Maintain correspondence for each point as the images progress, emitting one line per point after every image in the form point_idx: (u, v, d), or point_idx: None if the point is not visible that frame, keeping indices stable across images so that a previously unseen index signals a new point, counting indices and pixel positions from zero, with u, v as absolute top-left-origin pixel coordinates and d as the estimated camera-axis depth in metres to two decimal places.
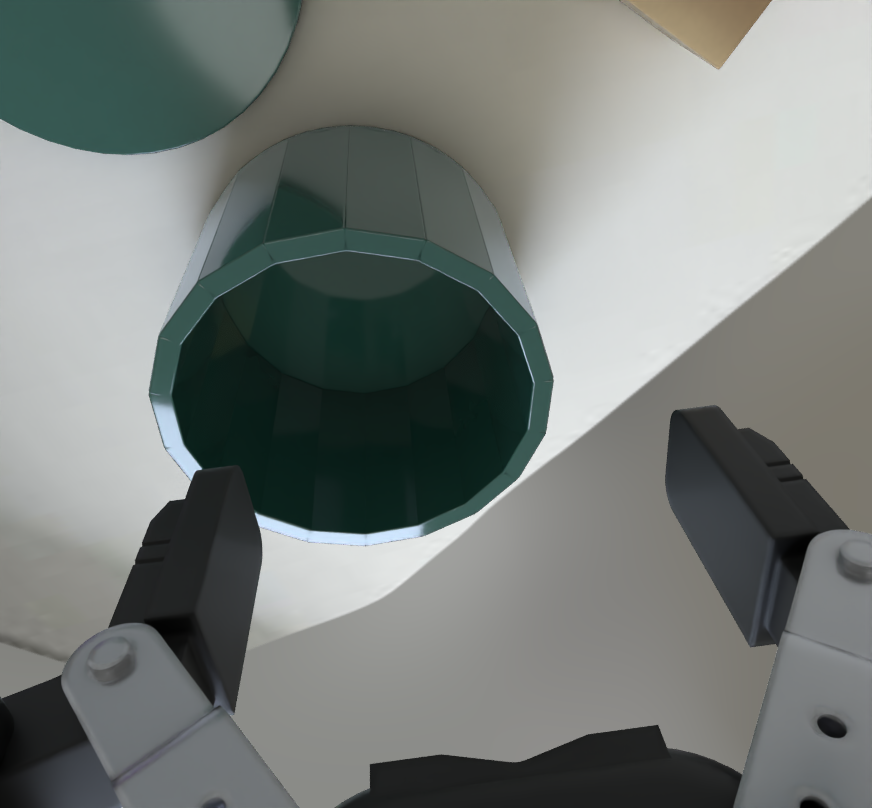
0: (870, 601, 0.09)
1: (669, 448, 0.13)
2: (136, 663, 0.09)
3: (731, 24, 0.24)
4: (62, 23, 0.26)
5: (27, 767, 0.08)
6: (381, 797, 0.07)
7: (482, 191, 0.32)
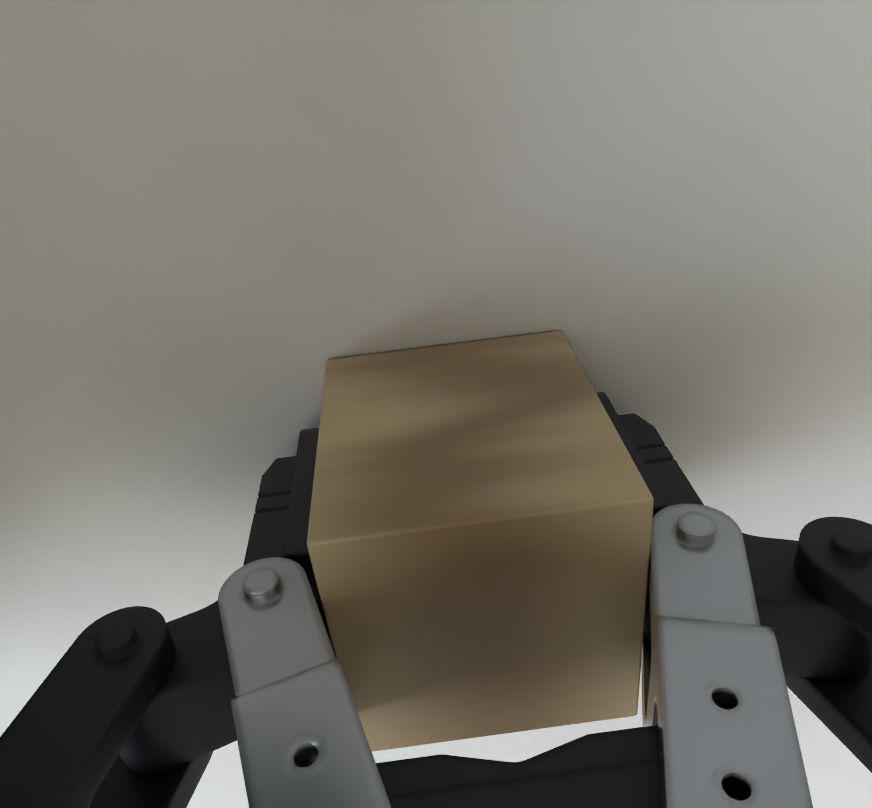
0: (714, 566, 0.09)
1: None
2: (286, 591, 0.10)
3: (437, 716, 0.11)
4: None
5: (195, 683, 0.09)
6: None
7: None
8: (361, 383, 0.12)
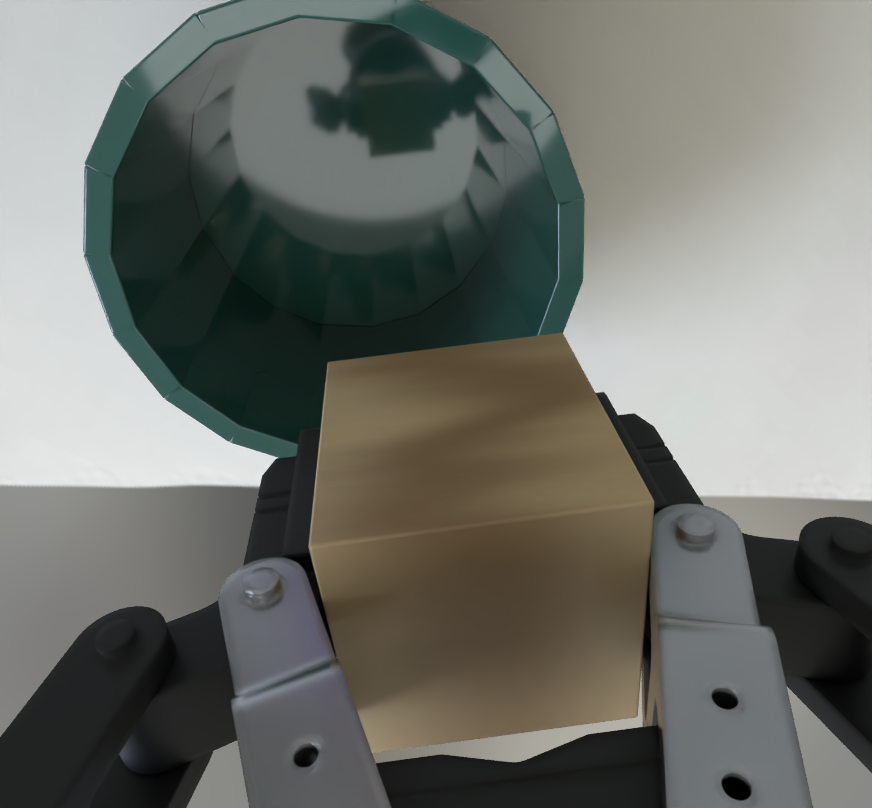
0: (714, 566, 0.09)
1: None
2: (287, 591, 0.10)
3: (437, 717, 0.11)
4: None
5: (195, 683, 0.09)
6: None
7: None
8: (362, 386, 0.12)
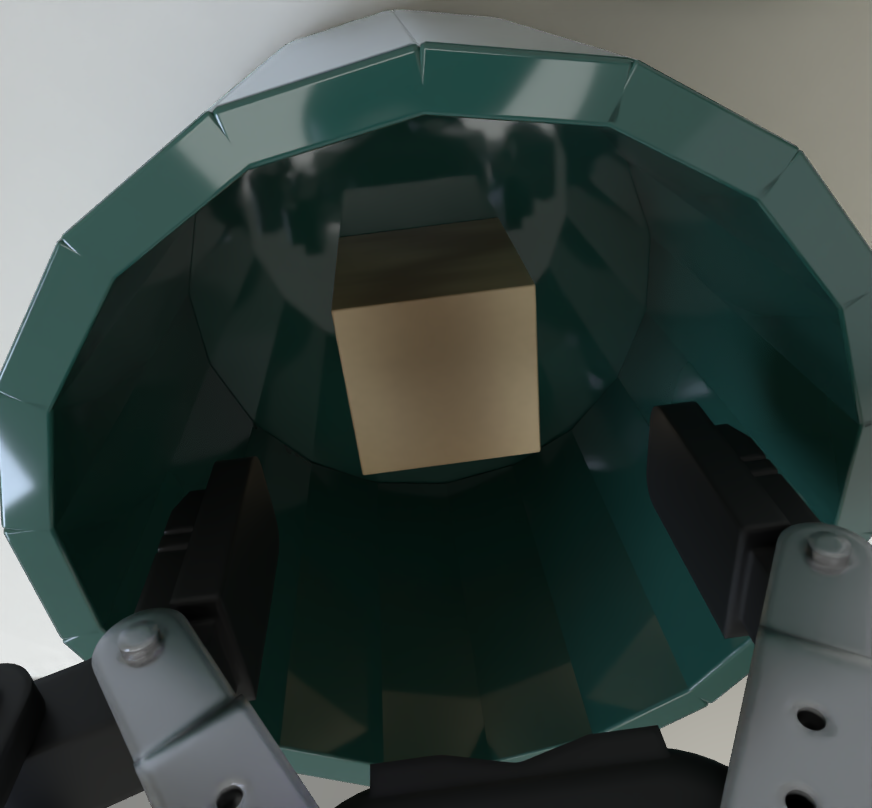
0: (839, 591, 0.09)
1: (649, 444, 0.13)
2: (165, 646, 0.09)
3: (411, 445, 0.17)
4: None
5: (60, 748, 0.08)
6: (381, 797, 0.07)
7: None
8: (362, 247, 0.18)
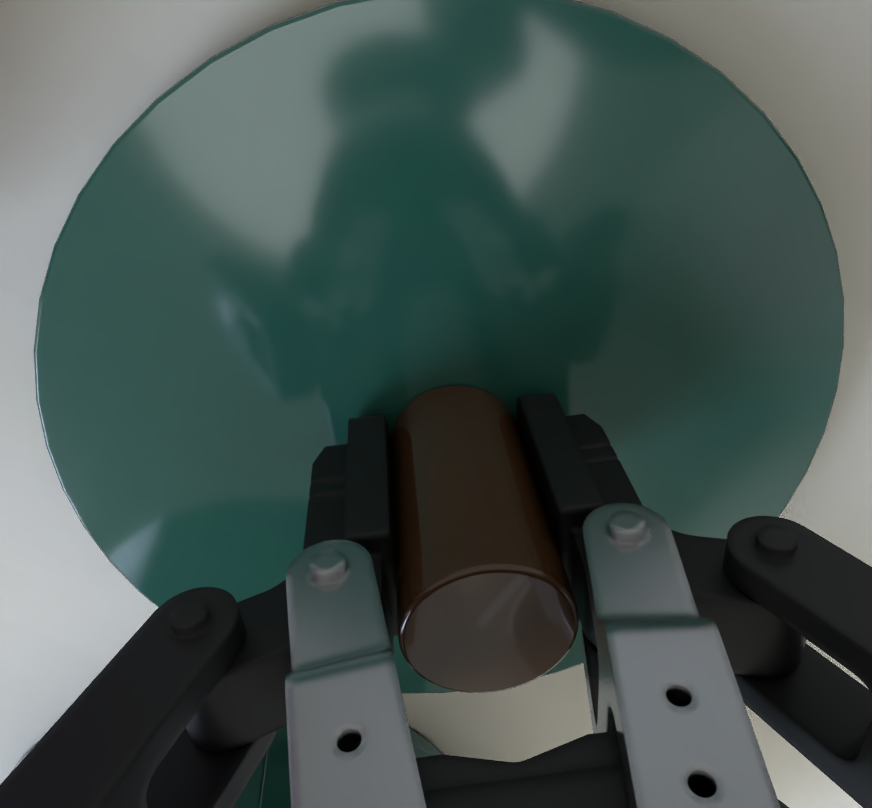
0: (648, 563, 0.09)
1: None
2: (353, 572, 0.10)
3: None
4: (298, 480, 0.15)
5: (266, 662, 0.09)
6: None
7: None
8: None
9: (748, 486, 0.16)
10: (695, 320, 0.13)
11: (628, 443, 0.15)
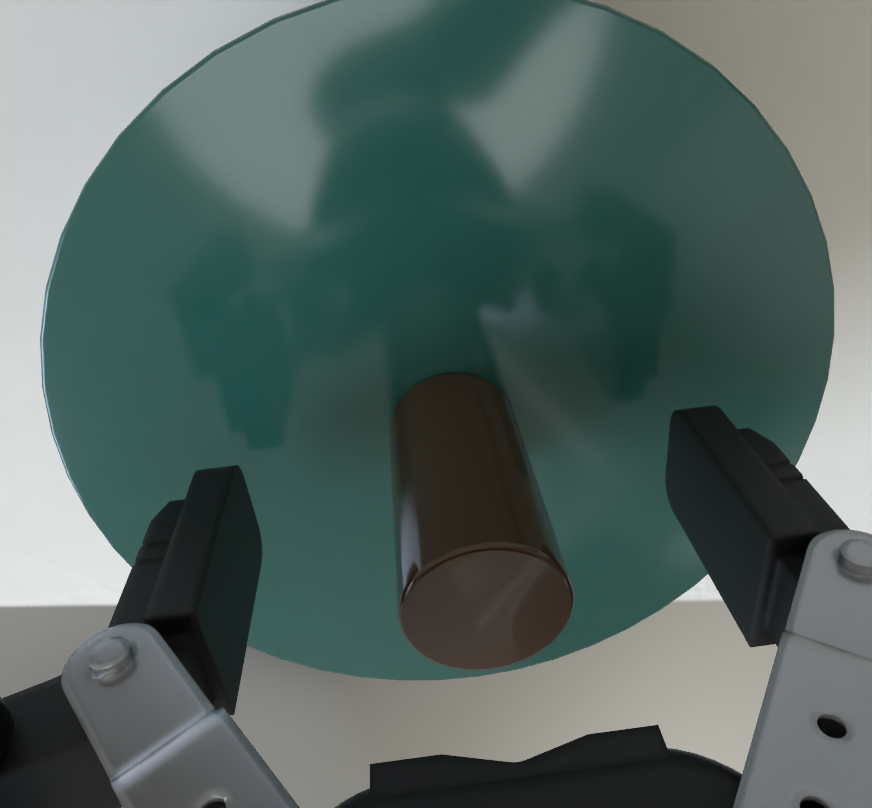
0: (870, 601, 0.09)
1: (669, 448, 0.13)
2: (136, 663, 0.09)
3: None
4: (299, 467, 0.15)
5: (28, 768, 0.08)
6: (381, 797, 0.07)
7: None
8: None
9: None
10: (688, 309, 0.14)
11: (623, 431, 0.15)
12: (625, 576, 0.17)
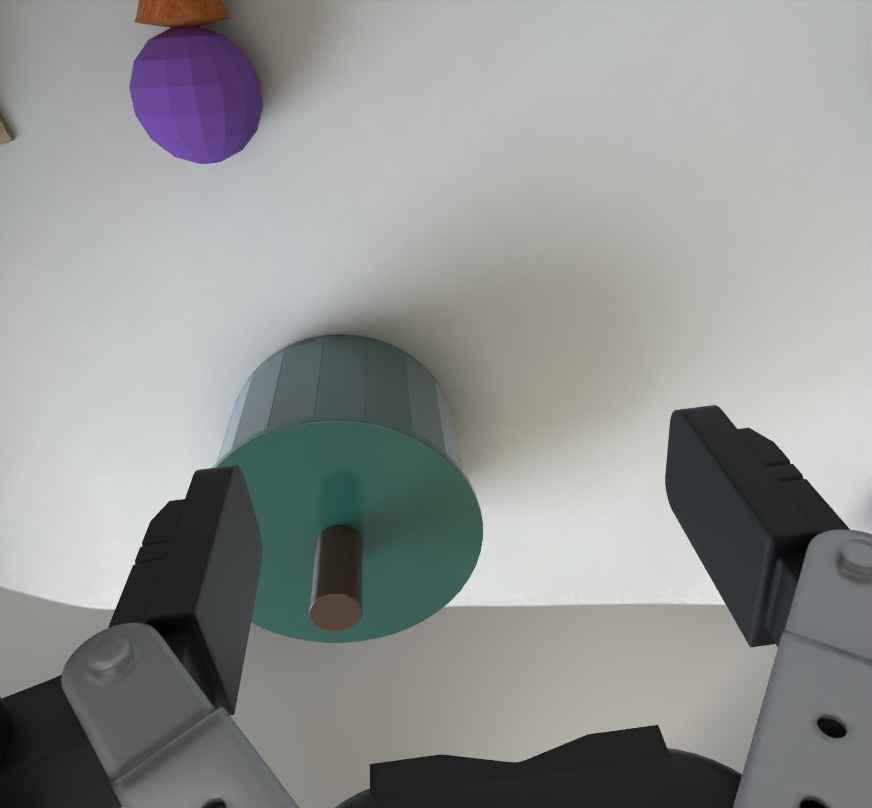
0: (870, 601, 0.09)
1: (669, 448, 0.13)
2: (136, 663, 0.09)
3: None
4: (281, 558, 0.39)
5: (27, 768, 0.08)
6: (380, 797, 0.07)
7: None
8: None
9: (457, 558, 0.40)
10: (421, 503, 0.38)
11: (406, 543, 0.39)
12: (418, 598, 0.41)
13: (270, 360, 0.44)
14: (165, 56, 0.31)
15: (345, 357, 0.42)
